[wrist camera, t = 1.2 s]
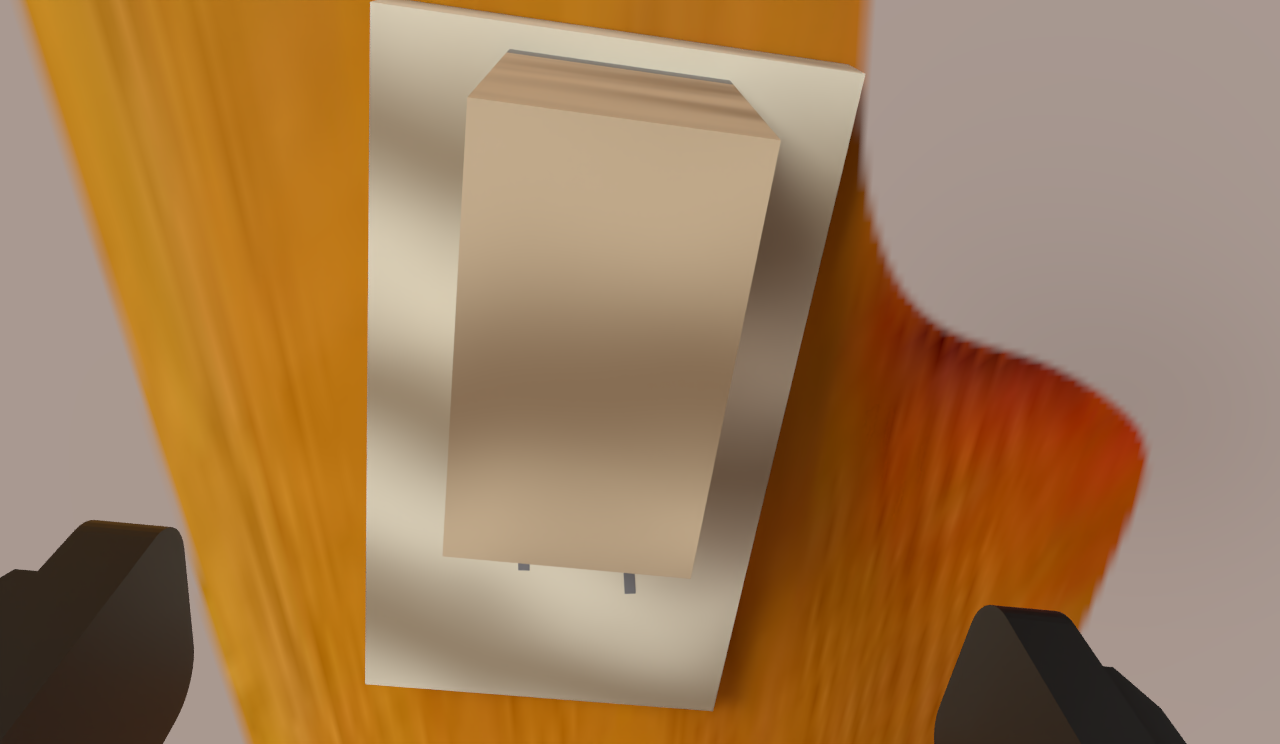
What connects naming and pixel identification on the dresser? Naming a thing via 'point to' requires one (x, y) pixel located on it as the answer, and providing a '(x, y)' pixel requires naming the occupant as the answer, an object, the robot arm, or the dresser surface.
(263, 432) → the dresser surface
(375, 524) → the board
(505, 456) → the block
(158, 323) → the dresser surface
